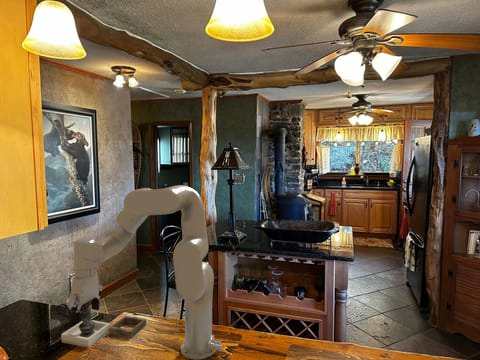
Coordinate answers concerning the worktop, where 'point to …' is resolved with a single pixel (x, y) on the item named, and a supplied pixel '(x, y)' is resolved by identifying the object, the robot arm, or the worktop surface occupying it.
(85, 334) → the salt shaker
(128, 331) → the tray
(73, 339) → the tray
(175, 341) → the worktop surface
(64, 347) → the worktop surface
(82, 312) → the coffee mug
